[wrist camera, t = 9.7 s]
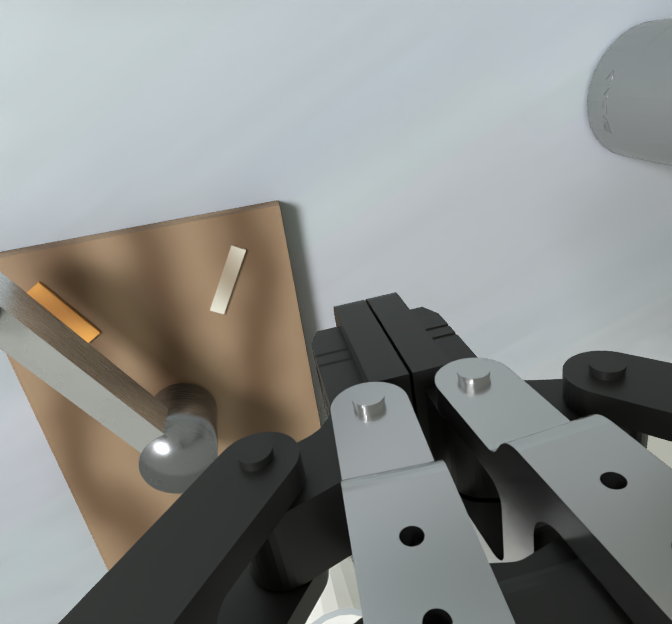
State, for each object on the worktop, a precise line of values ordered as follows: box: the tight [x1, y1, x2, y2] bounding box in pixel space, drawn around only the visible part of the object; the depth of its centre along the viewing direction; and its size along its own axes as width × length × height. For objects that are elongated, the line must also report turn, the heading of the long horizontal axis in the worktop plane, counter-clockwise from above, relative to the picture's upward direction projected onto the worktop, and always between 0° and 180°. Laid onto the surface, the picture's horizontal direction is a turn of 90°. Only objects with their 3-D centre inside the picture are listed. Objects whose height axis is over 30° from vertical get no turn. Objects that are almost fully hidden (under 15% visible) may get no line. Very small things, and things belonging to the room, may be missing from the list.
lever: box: [0, 272, 218, 494], centre depth 34 cm, size 19×5×8 cm, turn 37°
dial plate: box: [0, 201, 321, 571], centre depth 41 cm, size 20×28×2 cm
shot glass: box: [305, 556, 362, 624], centre depth 50 cm, size 7×7×7 cm
